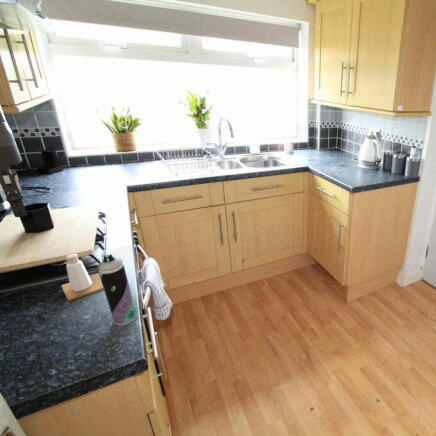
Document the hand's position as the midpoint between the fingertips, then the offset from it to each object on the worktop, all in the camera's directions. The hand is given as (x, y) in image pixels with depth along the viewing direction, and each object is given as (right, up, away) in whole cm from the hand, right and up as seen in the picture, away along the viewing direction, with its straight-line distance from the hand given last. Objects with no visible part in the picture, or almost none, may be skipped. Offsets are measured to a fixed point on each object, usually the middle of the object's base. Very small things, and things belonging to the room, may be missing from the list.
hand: (19, 210), depth 77 cm
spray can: (+20, -29, +10) cm, 37 cm away
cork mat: (-1, -23, +21) cm, 32 cm away
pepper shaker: (-1, -23, +21) cm, 31 cm away
